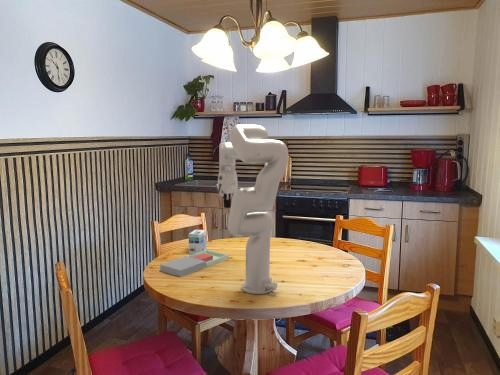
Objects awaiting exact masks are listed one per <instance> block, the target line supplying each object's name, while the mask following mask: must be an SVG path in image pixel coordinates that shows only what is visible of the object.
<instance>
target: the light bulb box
mask: <svg viewBox="0 0 500 375" xmlns="http://www.w3.org/2000/svg"><path fill="white" fill-rule="evenodd" d="M207 236H208V231H207V230H206V229H196V228H195V229H194V230H192V231H191V232H189V233H188V254H190V255H192V254H195V253H198V252H201V251H204V250H208V247H207V246H208V242H207V241H208V240H207V239H208V237H207Z"/></svg>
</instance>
